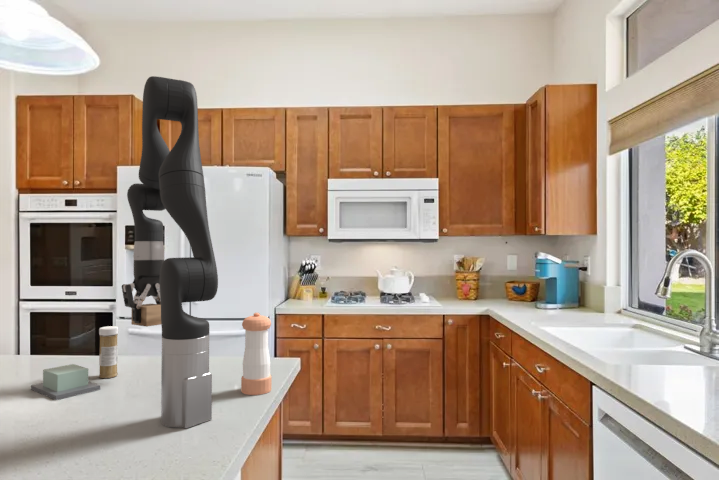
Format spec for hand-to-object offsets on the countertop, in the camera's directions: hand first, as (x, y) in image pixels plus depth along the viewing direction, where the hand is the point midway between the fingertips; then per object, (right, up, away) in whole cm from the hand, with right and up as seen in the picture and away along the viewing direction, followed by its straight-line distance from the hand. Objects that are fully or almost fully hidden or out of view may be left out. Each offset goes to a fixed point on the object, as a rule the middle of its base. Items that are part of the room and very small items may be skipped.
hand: (148, 321), depth 127 cm
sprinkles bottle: (-12, -16, +2) cm, 20 cm away
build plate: (-17, -15, -9) cm, 24 cm away
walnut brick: (0, -1, 0) cm, 1 cm away
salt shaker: (+31, -16, -10) cm, 36 cm away
